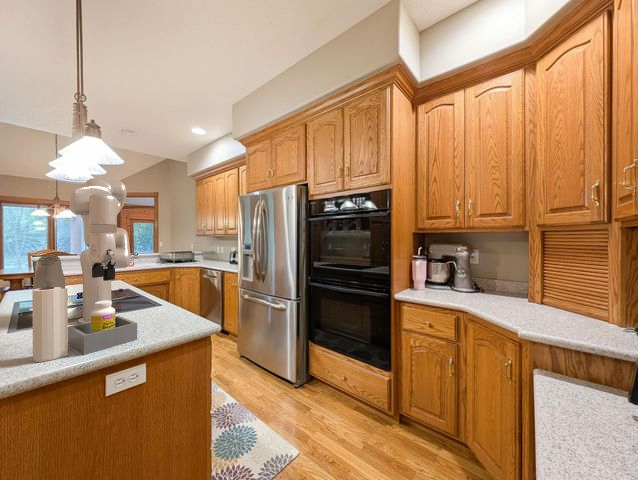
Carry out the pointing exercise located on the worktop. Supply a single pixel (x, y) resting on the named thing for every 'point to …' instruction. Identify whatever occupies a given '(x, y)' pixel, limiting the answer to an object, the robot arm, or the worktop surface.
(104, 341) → the walled box
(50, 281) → the grey rounded cylinder
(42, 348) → the paper towel roll
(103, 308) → the supplement bottle
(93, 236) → the robot arm
